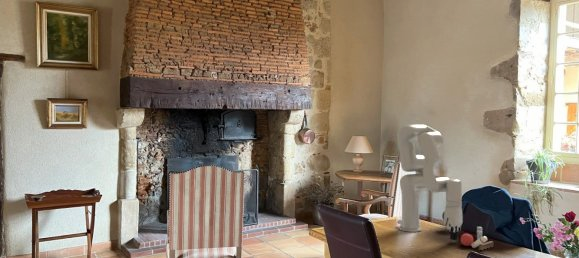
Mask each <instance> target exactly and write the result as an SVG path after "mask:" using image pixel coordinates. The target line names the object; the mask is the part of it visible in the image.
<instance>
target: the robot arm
mask: <svg viewBox="0 0 579 258" xmlns="http://www.w3.org/2000/svg"><path fill="white" fill-rule="evenodd" d="M396 135H397V143H398V147H399V156H400V165H401V166H400V167H401V170H402V171H403V172H407V173H408V174H405V175H403V176H401V178H400V181H399V185H400V186H399V188H400V192H401V219H398V220H397V221H396V223H397V224H399V227H398V228H399V230H400V231H403V232H408V233H409V232H410V233H418V232H421V231H422V230H423V227H421V226H420V197H419V195H418V193H417V191H423V190H426V189H428V191H430V193H432V194H433V193H434V194H435V193H437V194H438V193H445V208H444V211H445V212H444V211H443V212H444V220H443V225H444V226H445V227H446V229H447V230H449V239H450V240H453V241H458V232H459V229H460V227H462V224H463V208H462V207H463V206H462V203H463V201H462V200H463V197H462V193H463V192H462V187H463V185H462V180H460V179H455V178H450V177H446V176H445V177H436V176H435V173H434V166H435V164H436V163H438V162H439V161H440V160H441V159H442V155H441V154H440V151H439V147H441V146H442V145H443V143H444V137H443V135H442V134H441V133H440V132H439V131H438V130H436V129H434V128H432V127H430V126H428V125H426V124H406V125H403V126H401V127H400V128H399V129H398V131H397V134H396ZM412 140H413V141H414V140H417V143H418V145H419V147H420V150H421V154H422V155H421V154H416V148H415V145H414V143H413V142H412ZM411 172H413V173H411ZM414 172H415V173H414Z"/></svg>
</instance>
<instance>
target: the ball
mask: <svg viewBox="0 0 579 258" xmlns="http://www.w3.org/2000/svg"><path fill="white" fill-rule="evenodd" d="M473 242H475V241H474V237H473V235H471V234H469V233H463V234H462V235H461V236H460V243H461V244H462V245H464V246H465V247H469V246H471V244H472V243H473Z"/></svg>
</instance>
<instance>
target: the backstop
mask: <svg viewBox="0 0 579 258" xmlns="http://www.w3.org/2000/svg"><path fill="white" fill-rule="evenodd" d="M490 247H491V248H494V241H492V240H491V241H486V242H484V243H482V244H481V245H479V246H478V251H480V250H482V251H485V250H488V249H491V248H490ZM487 248H488V249H487ZM484 249H485V250H484Z"/></svg>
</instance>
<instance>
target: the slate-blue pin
mask: <svg viewBox="0 0 579 258" xmlns="http://www.w3.org/2000/svg"><path fill="white" fill-rule="evenodd" d="M481 237H483V227H482V226H476V241H477V240H478V239H480V238H481Z"/></svg>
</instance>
